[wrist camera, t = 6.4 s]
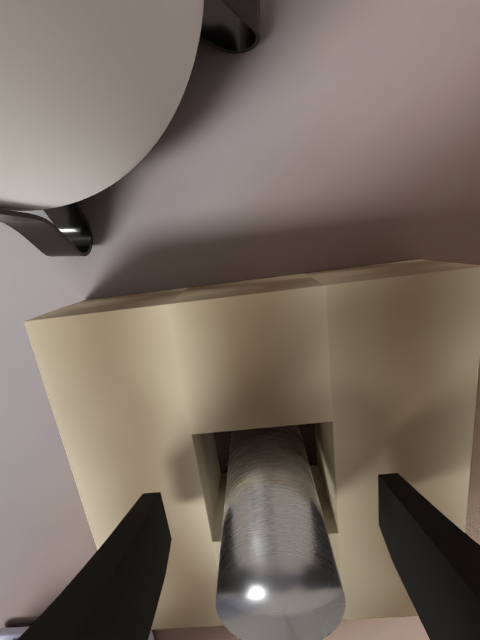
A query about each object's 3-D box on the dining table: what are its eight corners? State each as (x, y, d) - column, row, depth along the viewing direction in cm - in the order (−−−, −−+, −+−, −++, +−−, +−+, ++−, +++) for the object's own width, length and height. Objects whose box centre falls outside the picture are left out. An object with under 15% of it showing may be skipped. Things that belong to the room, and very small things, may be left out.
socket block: (149, 549, 16) (123, 631, 13) (84, 300, 13) (23, 321, 9) (411, 531, 15) (457, 613, 12) (419, 259, 12) (487, 266, 8)
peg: (242, 464, 15) (236, 657, 8) (223, 409, 14) (198, 569, 7) (305, 450, 14) (356, 638, 7) (289, 393, 13) (330, 545, 7)
